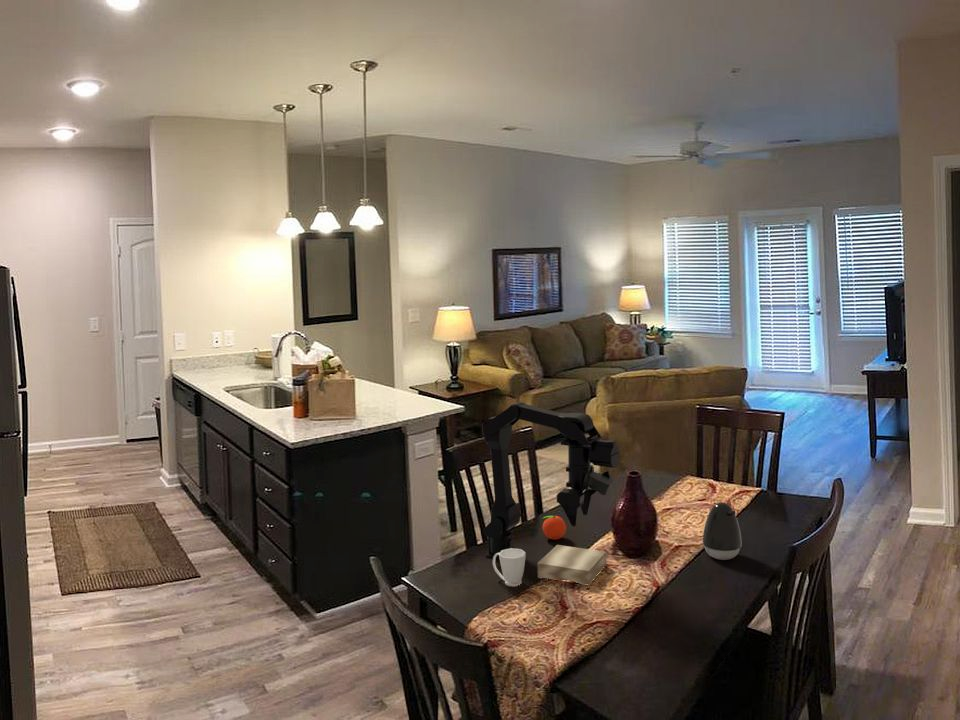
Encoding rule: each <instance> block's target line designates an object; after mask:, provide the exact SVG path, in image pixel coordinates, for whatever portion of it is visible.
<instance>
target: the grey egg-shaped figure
mask: <svg viewBox="0 0 960 720" xmlns="http://www.w3.org/2000/svg"><path fill="white" fill-rule="evenodd" d="M702 544H703V547H704V549H705V551H706V553H707V554H708V555H709V556H710V557H712V558H713V559H716V560H721V561H727V560H728V561H729V560H731V559H734V558H736V556H737V555H738V554H739V553H740V550H741V548H742V546H743V545H742V544H743V543H742V533H741V528H740V525H739V521H738V518H737V516H736V511H735V510H734V509H733V508H732V506H731V505H730V504H728V503H727V502H723V501H720V502H716V503H715V504H713V506H712V507H711V508H710V511H709V513H708V515H707V517H706V520H705V523H704V529H703V534H702Z"/></svg>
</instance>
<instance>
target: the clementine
mask: <svg viewBox="0 0 960 720" xmlns="http://www.w3.org/2000/svg"><path fill="white" fill-rule="evenodd" d="M545 518H546V519H545ZM543 519H544V521H543V523H542V532H543V534H544V535H545V537H547V538H548V539H550V540H559V539H561V538H563V537H564V535H565V534H566V531H567V526H566V523H565V520H563V518H562V517H560V516H558V515H547V516H544V517H543ZM541 522H542V520H540V522H539V523H541Z"/></svg>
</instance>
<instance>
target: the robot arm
mask: <svg viewBox="0 0 960 720" xmlns="http://www.w3.org/2000/svg"><path fill="white" fill-rule="evenodd" d="M520 420H521V421H524V422H529V423H531V424H535V425H540V426H542V427H543V426H544V427H547V428H551V429H554V430H556V431H557V432H559V433H560V434H561V435H563V436H565V438H564V439H562V440H561V441H560V443H559V444H560V445H561V446H568V447H567V448H568V449H567V451H568V460H567V461H568V462H567V463H568V466H566V467H565V472H568V475H567V476H568V480H567V481H566V483H565V488H563V489H562V490H560V491H559V492H558V493H556V503H558V504H559V505H560V507H561V508H562V510H563V511H564V513H565V516H566V517H567V520H568V521H569V523H570V525H571V526H572V527H576V526H577V523H578V517H579V510H580V509H581V511H582V515H583V516H587V515H589V510H590V506H591V502H592V499H593V495H594V494H595V493H596V492H597V493H599V495H603V496H606V495H607V494H608V493H609V492H610V489H611V487H612V485H613V483H614V478H613V476H612V471H609V470H605V471H604V472H602V473H601V472H597V471H595V467H594V466H598V467H606V468H613V469H616V468H618V466H619V464H620V461H621V451H620V448H619V446H618V445H617V441H616V440H606V439H602V438H603V437H602V435H601V434H600V433H599V430H598V429H597V428H596V426H595V425H594V421H593V418H592V417H591V415H589V414H587V413H583V412H565V413H564V412H558V411H555V410H552V409H547V408H541V407H539V406H534V405H531V404H526V403H525V402H521V401H519V402H516V403H513V404H510V406H509V407H508V408H506V409H504V410H503V411H502V412H500V413H499V414H497V415H495V416H493V417H489V418H487V419H485V420H484V422H483V423H482V426H481V428H482V429H481V430H482V435H483V438H484V442H485V443H486V445H487V446H488V447H489V450H490V460H491V469H492V470H491V472H492V480H493V481H492V482H493V493H494V495H493V496H494V502H493V504H492V507H491V510H490V511H491V512H490V521H489V523H488V524H487V525H486V526H485V527H484V528H483V529H482V531H483V534H484V537H486V538H487V549H488V552H487V553H486V554H485V557H487V558H493V557H494V555H495V554H496V553H500V552H501V551H502V550H505V549H510V548H514V549H515V538H513V531H514V530H515V529H516V526H517V525H518V524H519V523H520V521H521V518H522V517H523V515H522V512H521V511H522V510H521V503H520V502H516V501H515V500H514V498H513V494H512V493H513V491H512V482H511V481H512V480H511V471H510V470H511V469H510V459H509V445H510V441H511V439H512V434H513V433H512V431H513V426H514V425H516V424H517V423H518V422H519V421H520ZM496 559H499V560H500V558H499V555H497V556H496Z"/></svg>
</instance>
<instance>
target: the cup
mask: <svg viewBox="0 0 960 720" xmlns="http://www.w3.org/2000/svg"><path fill="white" fill-rule="evenodd" d="M526 554H527V552H526V551H525V550H523V549H521V548H515V547H514V548H510V549H505V550H502V551H501V552H500V553H496V554H495V555H494V557H492V566H493V567H492V568H493V570H494V572H495V573H496V574H497V576H499V577H500V579H502V580H503V582H504V584H505V585H506V586H507V587H518V585H519V586H521V585H522V583H523V580H522V579H523V576H524V571H525V563H526V557H527V555H526ZM497 555H499V558H500V559H499V558H498V559H499V562H500V567H501V572H500V571H499V570H498V568H497V565H496V559H497V558H496V556H497ZM501 573H502V574H501ZM520 584H521V585H520Z"/></svg>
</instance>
